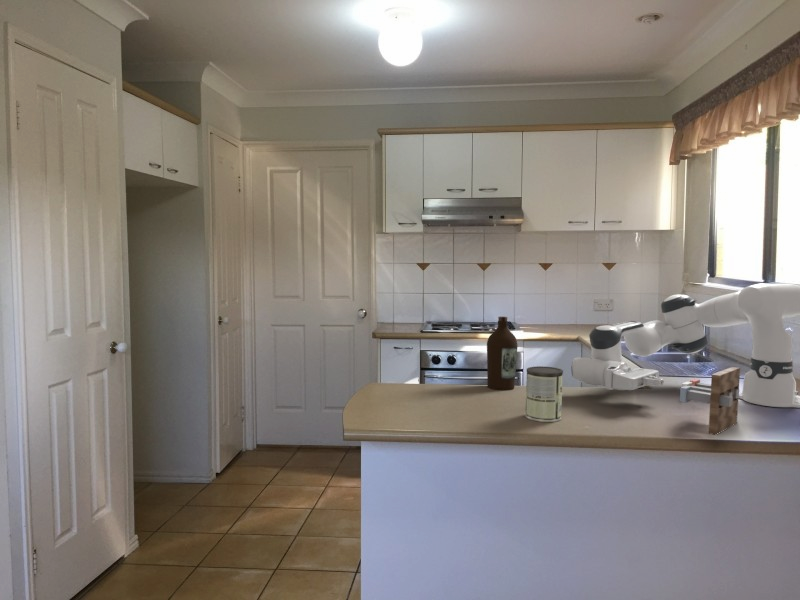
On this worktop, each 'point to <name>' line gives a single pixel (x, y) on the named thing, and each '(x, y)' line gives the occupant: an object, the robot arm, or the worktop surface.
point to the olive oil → (501, 357)
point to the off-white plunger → (701, 388)
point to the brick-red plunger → (697, 383)
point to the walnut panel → (719, 386)
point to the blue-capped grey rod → (702, 396)
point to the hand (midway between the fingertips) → (661, 382)
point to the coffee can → (544, 394)
